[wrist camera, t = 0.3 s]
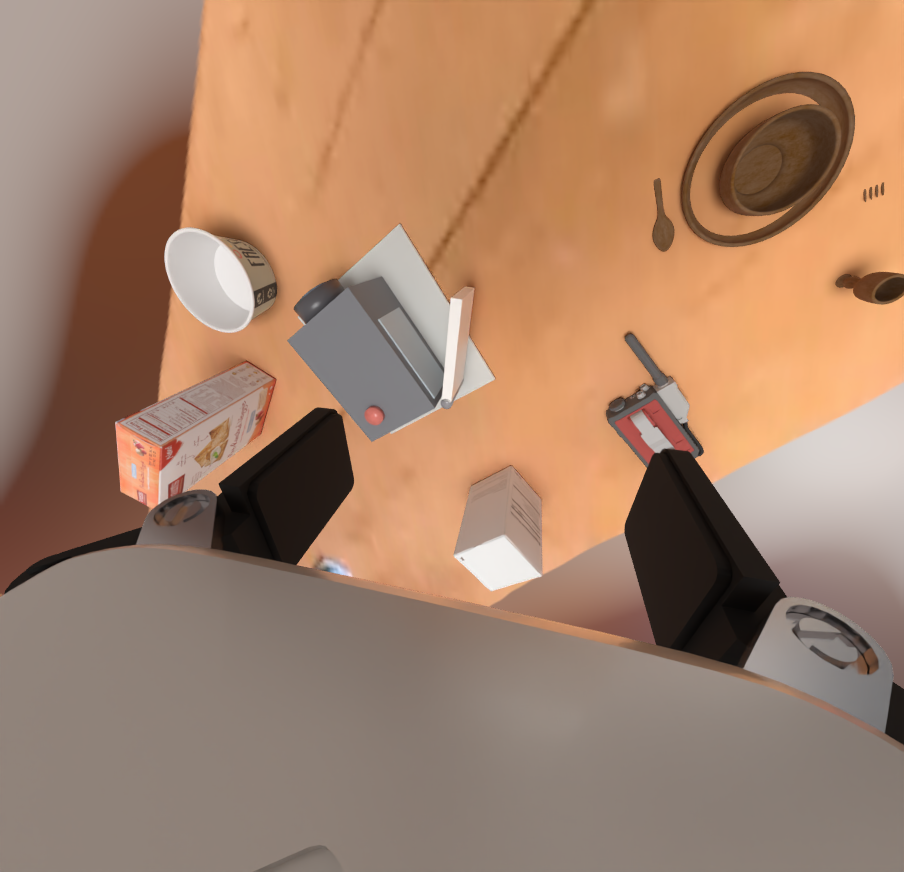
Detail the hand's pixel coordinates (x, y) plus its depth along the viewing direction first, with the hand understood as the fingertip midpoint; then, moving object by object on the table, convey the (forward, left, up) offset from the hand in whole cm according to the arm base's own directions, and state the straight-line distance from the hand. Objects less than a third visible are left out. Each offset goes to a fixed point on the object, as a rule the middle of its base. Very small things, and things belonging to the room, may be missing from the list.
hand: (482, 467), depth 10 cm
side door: (+1, -10, -34) cm, 36 cm away
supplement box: (+27, -18, -36) cm, 48 cm away
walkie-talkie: (+21, +6, -36) cm, 42 cm away
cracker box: (-9, -48, -36) cm, 60 cm away
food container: (-22, -32, -36) cm, 53 cm away
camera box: (-3, -20, -35) cm, 41 cm away
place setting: (+6, +21, -36) cm, 42 cm away
